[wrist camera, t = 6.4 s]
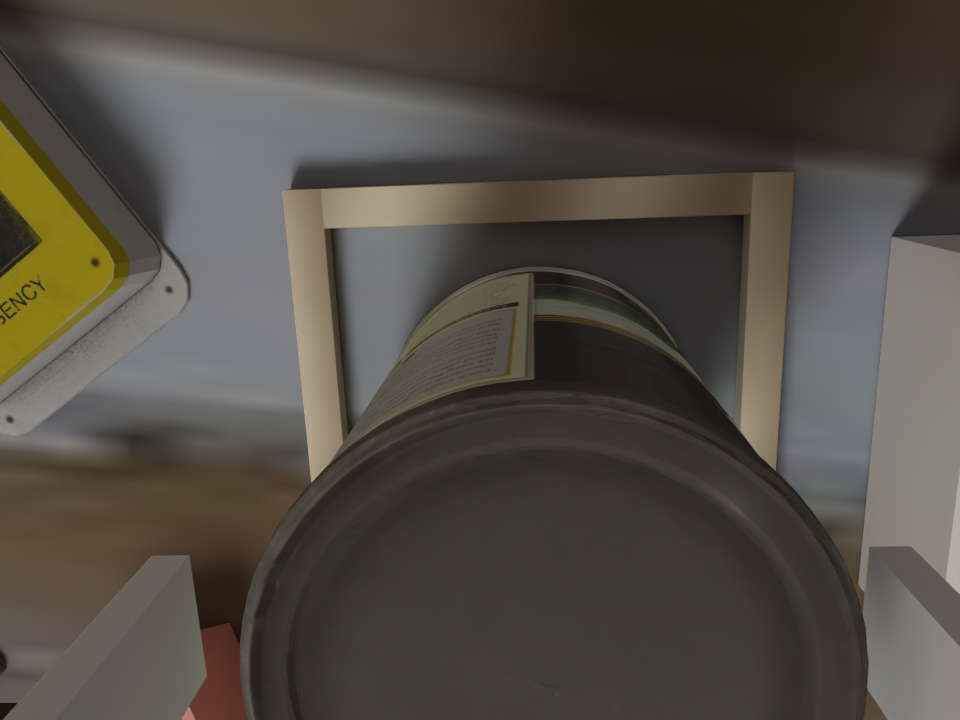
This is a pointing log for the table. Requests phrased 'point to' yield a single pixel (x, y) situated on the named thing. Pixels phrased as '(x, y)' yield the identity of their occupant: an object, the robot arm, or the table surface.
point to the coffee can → (549, 538)
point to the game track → (545, 200)
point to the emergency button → (67, 264)
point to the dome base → (918, 409)
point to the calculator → (2, 665)
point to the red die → (219, 678)
